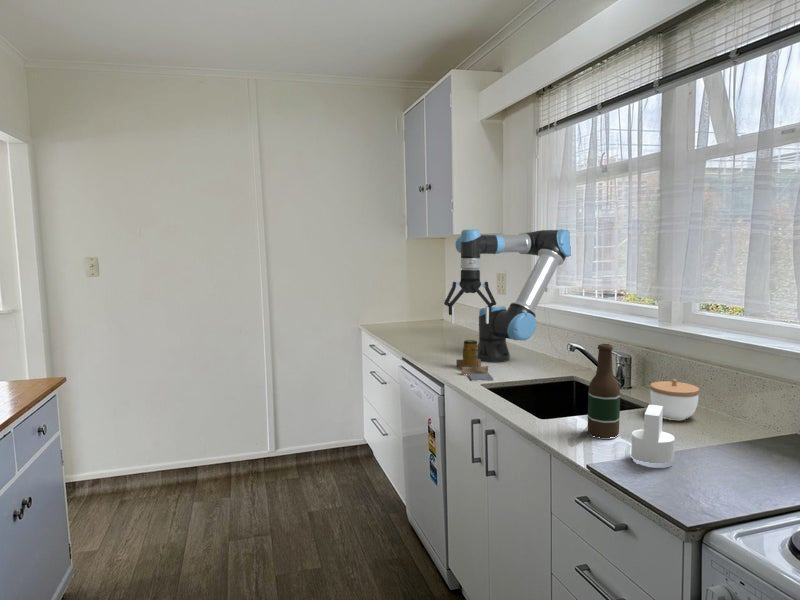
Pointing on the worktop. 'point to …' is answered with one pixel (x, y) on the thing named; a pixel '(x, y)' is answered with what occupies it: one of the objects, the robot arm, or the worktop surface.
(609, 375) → the beer bottle
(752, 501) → the worktop surface
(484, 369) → the rack
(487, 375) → the coaster
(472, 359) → the condiment
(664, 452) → the base with upright slab
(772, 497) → the worktop surface
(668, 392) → the lidded bowl
